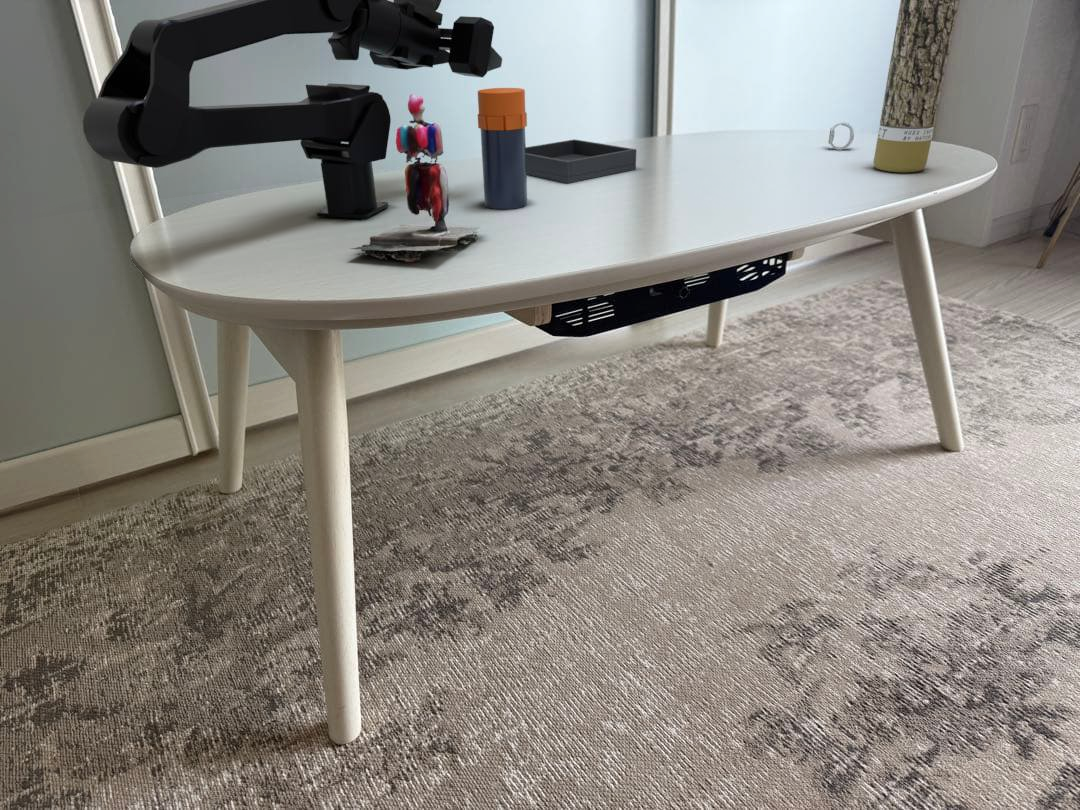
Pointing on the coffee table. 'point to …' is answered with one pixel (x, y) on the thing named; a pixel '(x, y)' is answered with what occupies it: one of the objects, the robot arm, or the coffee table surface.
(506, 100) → the spray can cap
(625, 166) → the tray
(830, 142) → the grey ring
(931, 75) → the paper tube
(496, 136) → the spray can
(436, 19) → the robot arm
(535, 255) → the coffee table surface
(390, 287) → the coffee table surface
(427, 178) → the statue
